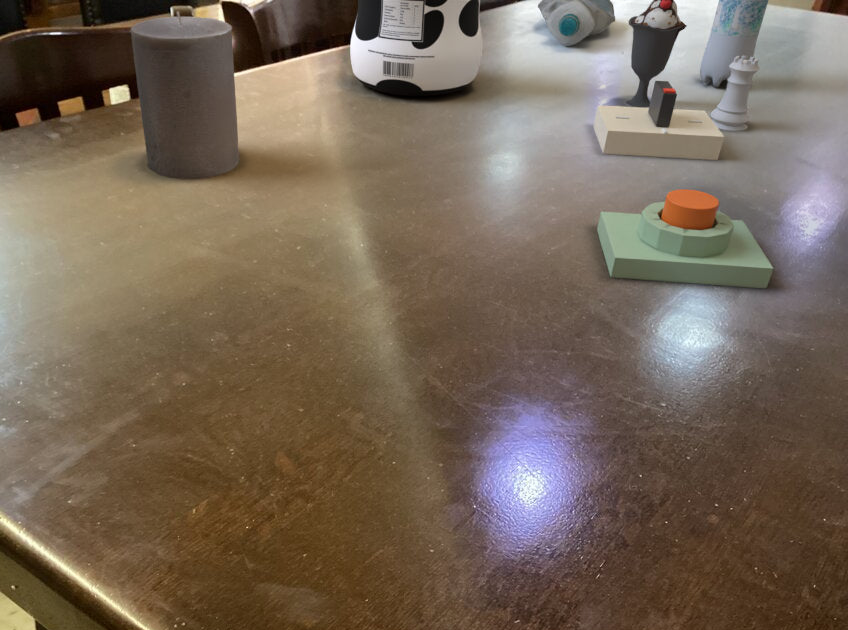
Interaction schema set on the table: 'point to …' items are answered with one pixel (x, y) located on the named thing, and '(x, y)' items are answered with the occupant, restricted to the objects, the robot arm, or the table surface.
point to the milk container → (416, 45)
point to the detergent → (576, 18)
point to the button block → (682, 250)
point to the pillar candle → (187, 95)
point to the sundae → (652, 44)
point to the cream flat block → (657, 133)
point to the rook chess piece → (736, 96)
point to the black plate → (662, 103)
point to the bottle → (731, 37)
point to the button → (690, 209)
